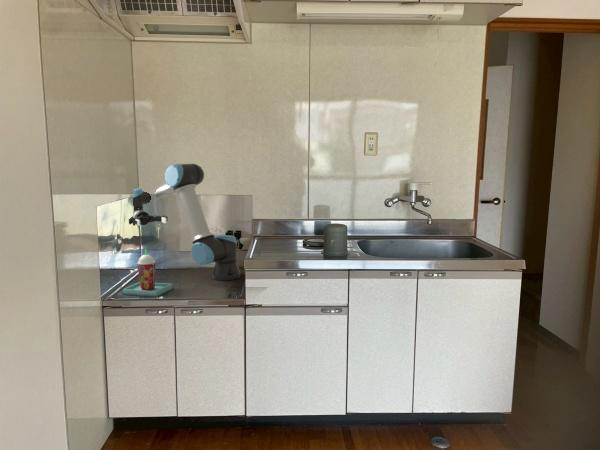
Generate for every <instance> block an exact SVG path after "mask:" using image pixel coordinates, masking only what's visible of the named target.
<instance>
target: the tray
mask: <svg viewBox="0 0 600 450" xmlns="http://www.w3.org/2000/svg"><path fill="white" fill-rule="evenodd" d="M172 289H173V283H166V282H165V283H163V282H155V287H154V289H153V290H151V291H145V290H142V289H141V288H140V281H138V282H136V283H134V284H132V285H129V286H126V287H125V288H123V289H122V295H127V296H128V295H129V296H140V297H155V298H157V297H159V296H160V295H163V294H165V293H166V292H169V291H170V290H172Z"/></svg>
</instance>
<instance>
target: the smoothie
mask: <svg viewBox="0 0 600 450" xmlns="http://www.w3.org/2000/svg"><path fill="white" fill-rule="evenodd" d="M137 260H138V261H137V262H136V263H137V272H138V273H137V274H138V280H139V282H140V288H141V289H142V290H145V291H151V290H153V289H154V287H155V283H156V260H155V258H154V257H153V256H152V255H150V254H147V249H146V248H145V249H144V254H143V255H141V256H140V257H139V258H138V259H137Z"/></svg>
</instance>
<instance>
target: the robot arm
mask: <svg viewBox="0 0 600 450" xmlns="http://www.w3.org/2000/svg"><path fill="white" fill-rule="evenodd" d="M204 179H205V172H204V170H203V168H202V167H201V166H200V165H199V164H196V163H173V164H171V165H168V167H167V168H166V171H165V173H164V180H165V183H164V184H161V185H162V186H161V185H159V186H160V187H159V186H158V187H159V188H158V189H157V190H156V192H155V196H156V197H157V198H165V199H167V198H168V197H171V196H173V195H175V194H177V195H178V197H179V199H180V202H181V205H182V208H183V211H184V214H185V217H186V220H187V222H188V225H189V227H190V231H191V233H192V236H193V239H192V241H191V243H192V245H191V248H190V249H191V250H190V255H191V257H192V259H193V260H194V261H195V262H196V263H197V264H199V265H203V266H204V265H210V264H212V263H214V266H213V269H212V274H211V276H212V279H213V280H215V281H224V282H225V281H233V280H237V279H239V278H241V270H240V268H239V266H238V265H239V264H238V261H237V260H238V257H237V255H238V254H237V252H238V251H237V243H238V242H237V238H236V236H234V235H226V234H214V233H212V232H211V231H210V229H209V228H210V227H209V226H208V223H207V221H206V218H205V215H204V212H203V209H202V206H201V203H200V201H199V200H200V199H199V198H198V195H197V192H196V187H197V186H198V185H200V184H201V183H202V182H203V181H204ZM136 188H137V187H136ZM144 191H145V190H142V188H139V187H138V188H137V189H134V191H133V192H134V193H133V206H134V212H133V216H132V217H131V218H130V219H129V218H128V225H132V226H133V227H134V226H146V225H147V224H149V223H154V222H161V223H162V224H167V223H168V221H169V220H168V216H167V215H150V214H149V213H148V212H147V211H144V205H148V204H147V203H149V202H150V200H151V196H150V194H149V193H147V192H144ZM166 197H167V198H166ZM138 208H139V209H138Z"/></svg>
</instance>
